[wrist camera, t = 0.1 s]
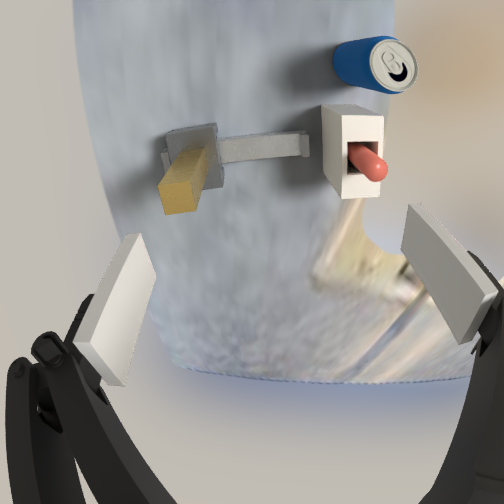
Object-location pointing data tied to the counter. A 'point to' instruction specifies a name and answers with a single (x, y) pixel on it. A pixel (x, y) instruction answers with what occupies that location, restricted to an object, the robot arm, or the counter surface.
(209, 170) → the carriage
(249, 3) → the counter surface
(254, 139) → the rail
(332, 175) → the end cabinet
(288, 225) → the counter surface
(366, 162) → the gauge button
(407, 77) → the beverage can
